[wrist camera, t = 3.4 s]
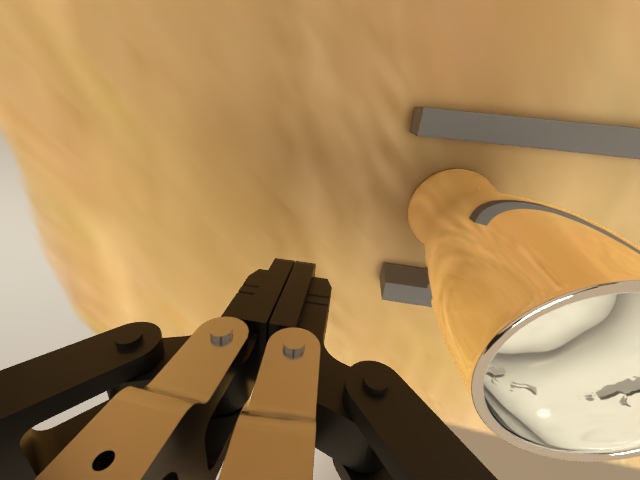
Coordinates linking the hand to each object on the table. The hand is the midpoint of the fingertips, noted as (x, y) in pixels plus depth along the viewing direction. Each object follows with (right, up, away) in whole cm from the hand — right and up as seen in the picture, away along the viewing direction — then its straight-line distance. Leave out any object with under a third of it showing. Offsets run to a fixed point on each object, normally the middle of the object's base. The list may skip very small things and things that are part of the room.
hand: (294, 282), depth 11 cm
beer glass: (+11, +4, +10) cm, 15 cm away
